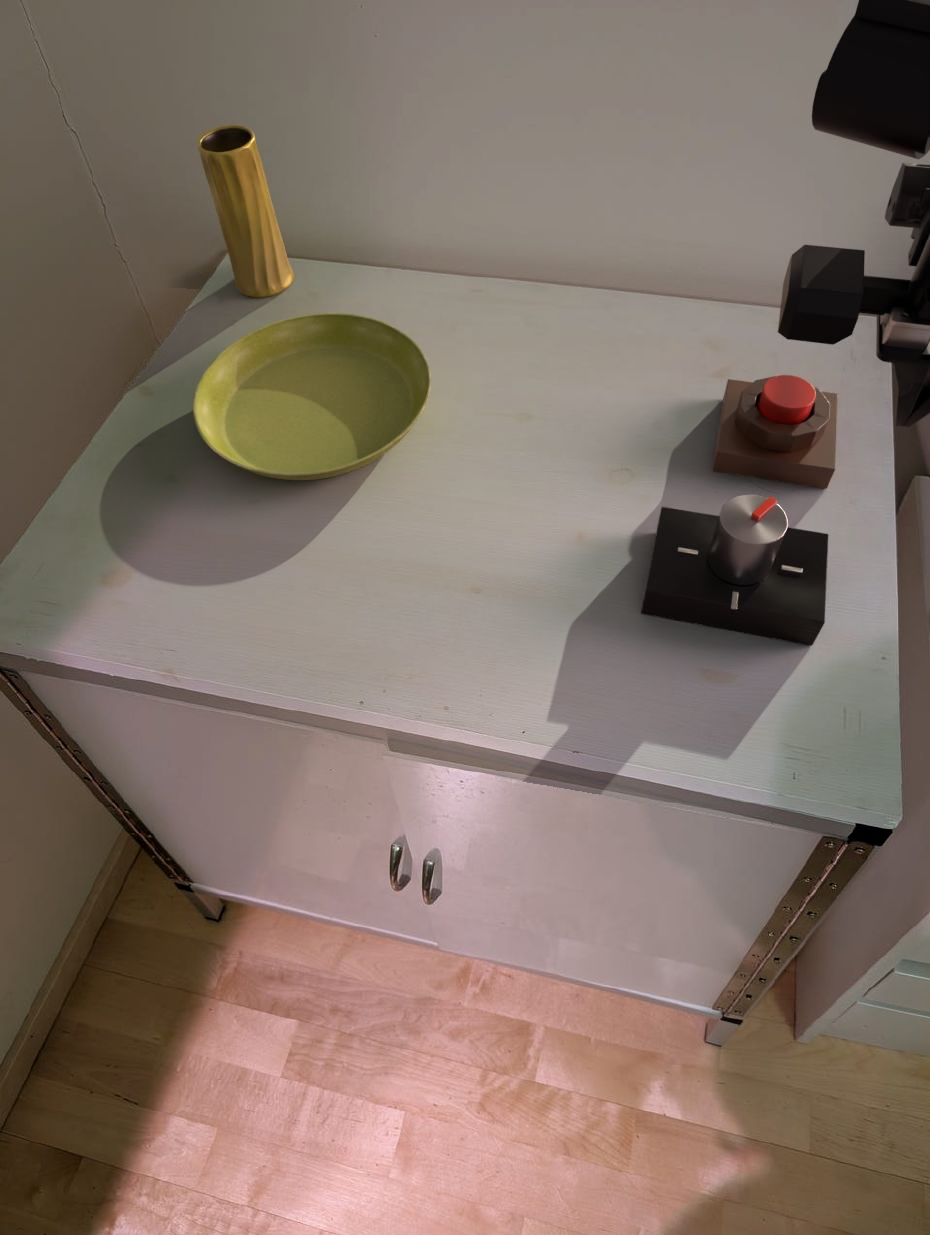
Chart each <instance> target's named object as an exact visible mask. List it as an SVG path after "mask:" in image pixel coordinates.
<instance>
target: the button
mask: <svg viewBox="0 0 930 1235" xmlns="http://www.w3.org/2000/svg"><path fill="white" fill-rule="evenodd" d="M774 376H775V377H773V376H772V377H773V378H771V379H769V380H768V381H767V382H766V383H765V385H764V387H763V390H762V393H761V397H760V400H759V404H758V407H759V410H760V412H761V414H762V415H763V416H764V417H765V418H767V419H768V420H770V421H772V422H774V423H777V424H784V425H795V424H799V423H801V422H803V421H804V420H806V419H807V417H808V416H809V414H810V411H811V409H812V406H813V403H814V401H815V398H816V392H815V389H814V387H815V386H814V385H812V384H811V383H810V382H809V381H808V380H807V379H804V378H802V377H799V376H796V375H791V374H780V375H774ZM813 386H814V387H813Z"/></svg>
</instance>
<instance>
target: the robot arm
mask: <svg viewBox="0 0 930 1235" xmlns="http://www.w3.org/2000/svg"><path fill="white" fill-rule="evenodd" d="M827 64H828V65H827V68H826V70H824V71H823V72H822V73H821V74H820V76H819V79H818V82H817V85H816V88H815V92H814V97H813V101H812V110H811V123H812V127H813V128H814V130H815V131H819V132H822V133H825V134H829V135H832V136H835V137H839V138H842V139H846V140H850V141H853V142H857V143H860V144H863V145H867V146H869V147H870V146H871V147H874V148H877V149H881V150H884V151H888V152H892V153H895V154H899V155H902V156H905V157H909V158H913V159H915V160H920V159H922V158H924V157H925V156H926V155H927V154H928V153H929V151H930V0H858V1H857V6H856V9H855V12H854V15H853V17H852V18H851V20H850V21H849V23H848V25H846V28H845V29H844V31H843V33H842V35H841V36H840V38H839V40H838V42H837V44H836V46H835V48H834V50H833V53H832V54H831V57H830V60H829V63H827ZM894 181H895V182H894V184H893V186H892V188H891V192H890V195H889V199H888V202H887V206H886V209H885V214H884V220H885V221H886V223H887V224H888V225H889V226H890V227H900V228H912V231H911V234H910V239H911V240H913V241H912V244H911V246H910V248H909V251H908V253H907V261H908V262H907V263H908V266H909V267H915V269H914V271H913V273H912V276H911V278H910V279H903V278H896V277H895V278H893V277H884V276H876V275H865V257H866V256H865V254H866V253H865V252H866V251H865V250H864V249H854V248H846V247H836V246H835V247H834V246H824V245H813V244H804V245H802V246H801V247H799V249H797V250H796V251H794V253H792V254H791V256H790V257H789V261H788V264H787V268H786V272H785V275H784V279H783V283H782V292H781V300H780V309H779V318H778V327H777V334H779V335H780V336H782V337H783V338H785V339H786V340H790V341H798V342H799V341H800V342H806V343H808V342H809V343H814V344H824V345H832V346H833V345H836V344H837V343H840V342H842V341H843V340H845V339H847V338H848V337H850V336H851V337H852V335H853V333H854V330H855V328H856V325H857V323H858V319H859V317H860V316H859V315H860V314H866V315H876V334H875V335H876V336H875V337H876V338H875V344H876V345H875V349H876V350H875V354H876V357H877V359H878V360H880V361H882V362H884V363H890V364H893V367H894V371H895V377H896V395H895V396H896V397H895V415H894V417H895V418H894V419H895V420H894V421H895V423H894V424H895V427H902V428H907V429H908V428H911V427H912V426H914V425H915V424H917V423H918V422H919V421H921V420H923V419H924V418H925V417H927V416H929V415H930V164H928V163H927V164H924V163H913V162H902V163H901V166H900V169H899V170H898V173H897V176H896V178H895V180H894Z"/></svg>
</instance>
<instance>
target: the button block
mask: <svg viewBox="0 0 930 1235" xmlns="http://www.w3.org/2000/svg"><path fill="white" fill-rule="evenodd" d="M775 376H776V375H774V376H769V377H764V378H760V379H756V380H754V381H745V380H739V379H731V378H728V379H727V382H726V386H725V390H724V394H723V398H722V401H721V402H722V403H721V408H720V416H719V422H718V429H717V437H716V442H715V443H716V444H715V450H714V456H713V463H712V470H711V471H712V472H716V473H722V474H730V475H735V476H740V477H741V476H742V477H748V478H753V479H754V478H755V479H760V480H761V479H762V480H769V481H773V482H781V483H787V484H793V485H800V486H806V487H813V488H820V489H825V490H826V489H828V488H829V485H830V483H831V480H832V478H833V475H834V473H835V471H836V461H837V460H836V459H837V434H838V408H839V406H838V405H839V393H836V392H829V391H828V392H827V391H821V390H820V389H819V388H818V387H816V386H814V385H812V386H813V387H814V389H815V392H816V398H815V401H814V403H813V406H812V409H811V411H810V414H809V416H808V417H807V419H806V420H804V421H803V422H801V423H799V424H795V425H784V424H777V423H774V422H772V421H770V420H768V419H767V418H765V417H764V416H763V415H762V414H761V412H760V410H759V407H758V404H759V400H760V397H761V393H762V390H763V387H764V385H765V383H766V382H767V381H768V380H769V379H771V378H773V377H775Z"/></svg>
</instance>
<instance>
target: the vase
mask: <svg viewBox="0 0 930 1235" xmlns="http://www.w3.org/2000/svg"><path fill="white" fill-rule="evenodd" d="M256 140H257V139H256V135H255V132H253V131H252V129H251V128H249V127H247V126H245V125H241V124H240V125H239V124H227V125H226V124H225V125H220V126H217V127H214V128H210V129H209V130H207V131H205V132H204V133H203V134H201V135H200V136H199V138H198V139H197V141H196V142H197V143H196V145H197V149H198V152H199V156H200V160H201V164H202V167H203V170H204V173H205V177H206V180H207V185H208V187H209V191H210V194H211V197H212V202H213V204H214V207H215V212H216V215H217V218H218V220H219V225H220V229H221V233H222V237H223V240H224V243H225V246H226V249H227V254H228V257H229V261H230V264H231V269H232V273H233V276H234V285H235V288H236V290H237V291H239V292H240V293H241V294H243V295H244V296H247V297H251V298H267V297H272V296H275V295H278V294H280V293H281V292H283V291H285V290H286V289H288V288H289V286H290V285H291V284H292V282H293V281H294V277H295V274H294V270H293V268H292V266H291V264H290V262H289V259H288V255H287V251H286V247H285V244H284V240H283V237H282V233H281V230H280V226H279V223H278V219H277V216H276V211H275V208H274V205H273V202H272V198H271V194H270V189H269V186H268V182H267V178H266V173H265V170H264V167H263V162H262V159H261V155H260V152H259V149H258V145H257V141H256Z"/></svg>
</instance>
